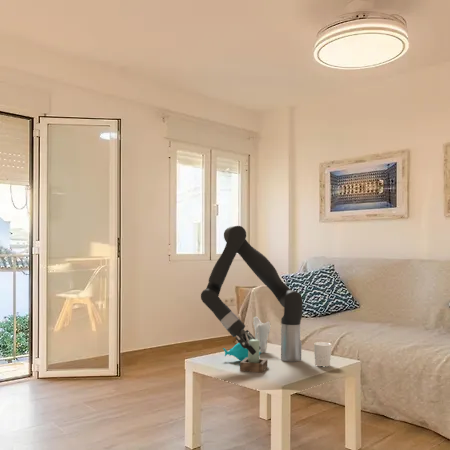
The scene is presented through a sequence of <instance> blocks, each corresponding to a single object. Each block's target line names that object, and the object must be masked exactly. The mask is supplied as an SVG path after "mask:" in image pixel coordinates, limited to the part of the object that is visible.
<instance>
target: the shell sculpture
mask: <svg viewBox="0 0 450 450" xmlns="http://www.w3.org/2000/svg"><path fill="white" fill-rule="evenodd" d="M252 324H253V328H254V332H255V333H254V338H255V339H256V340H259V341H260V342H259V346H260V347H261V349H260V352H261V353H262V354H264V353H266V352H267V347H268V337H269V335H270V332H271V322H270V320H267V321H266V322H262V321H261V320H260V318H259V316H254V317H253V321H252ZM261 353H260V354H261Z"/></svg>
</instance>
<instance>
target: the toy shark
mask: <svg viewBox="0 0 450 450" xmlns="http://www.w3.org/2000/svg"><path fill="white" fill-rule="evenodd" d="M222 350H223V351H224V357H226V356H227V355H229V356H233V357H234V358H236V359H237V360H238V361H240V362H241V361H242V360H244V359H245V358H246V357H247V358H248V349H246V348H245V349H244V348H243V347H242V346H241V345H240V343H239V342H238V343H236V344H235V345H234V346H232V348H229V350H227V349H226V348H224V347H222ZM260 356H261V352H260V350H259V357H260Z"/></svg>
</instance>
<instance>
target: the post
mask: <svg viewBox="0 0 450 450" xmlns="http://www.w3.org/2000/svg"><path fill="white" fill-rule="evenodd" d="M259 342H260V341H259V340H256V339H251V340H249V343H250V346H252V347H253V348H254V349H255V351H256V353H255V354H254V355H252V354H251V353H250V352H249V351H248V362H251V363H259V359H260V356H259Z"/></svg>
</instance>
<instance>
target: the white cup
mask: <svg viewBox="0 0 450 450" xmlns="http://www.w3.org/2000/svg"><path fill="white" fill-rule="evenodd" d="M313 346H314V347H313V351H314V354H313V355H314V365H315V366H316V365H317V366H316V367H318V366H329V367H331V361H332V360H331V359H332V358H331V357H332V343H330V342H326V341H316V342H314V343H313Z"/></svg>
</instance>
